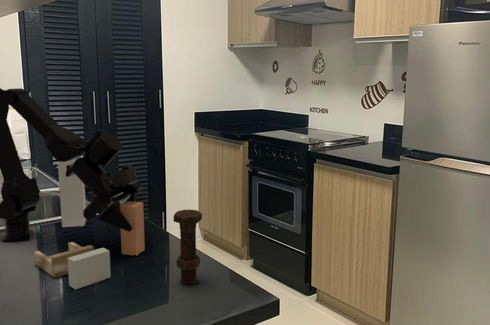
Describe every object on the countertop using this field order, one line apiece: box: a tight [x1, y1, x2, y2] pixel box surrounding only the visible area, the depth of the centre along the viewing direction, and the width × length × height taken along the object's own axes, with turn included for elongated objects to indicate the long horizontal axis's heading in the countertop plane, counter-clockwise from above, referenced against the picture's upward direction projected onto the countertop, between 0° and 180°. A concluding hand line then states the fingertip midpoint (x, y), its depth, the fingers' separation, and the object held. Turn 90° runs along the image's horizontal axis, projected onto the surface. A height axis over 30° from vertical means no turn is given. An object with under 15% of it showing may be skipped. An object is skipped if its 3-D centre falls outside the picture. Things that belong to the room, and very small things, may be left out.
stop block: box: [67, 247, 111, 290], centre depth 98 cm, size 2×8×6 cm, turn 137°
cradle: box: [33, 241, 95, 279], centre depth 106 cm, size 10×9×4 cm
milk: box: [57, 155, 87, 228], centre depth 134 cm, size 6×6×22 cm
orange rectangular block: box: [119, 201, 146, 256], centre depth 114 cm, size 4×4×12 cm
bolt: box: [173, 209, 203, 285], centre depth 98 cm, size 6×5×15 cm
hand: (137, 226), depth 113 cm, fingers open, 6 cm apart
